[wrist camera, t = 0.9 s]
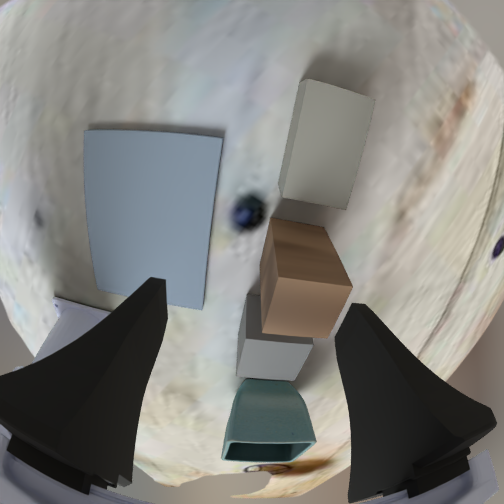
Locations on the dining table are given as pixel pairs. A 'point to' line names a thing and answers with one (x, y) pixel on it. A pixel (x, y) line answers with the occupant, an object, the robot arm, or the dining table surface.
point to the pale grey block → (324, 144)
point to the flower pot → (267, 424)
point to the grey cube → (267, 348)
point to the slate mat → (151, 209)
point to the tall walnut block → (301, 281)
